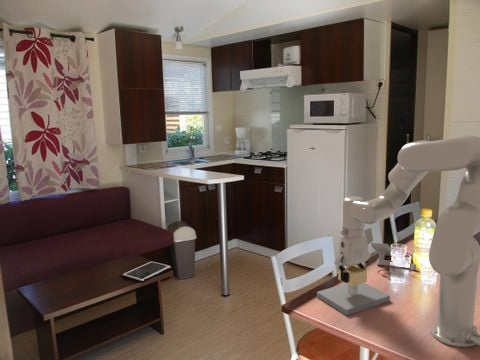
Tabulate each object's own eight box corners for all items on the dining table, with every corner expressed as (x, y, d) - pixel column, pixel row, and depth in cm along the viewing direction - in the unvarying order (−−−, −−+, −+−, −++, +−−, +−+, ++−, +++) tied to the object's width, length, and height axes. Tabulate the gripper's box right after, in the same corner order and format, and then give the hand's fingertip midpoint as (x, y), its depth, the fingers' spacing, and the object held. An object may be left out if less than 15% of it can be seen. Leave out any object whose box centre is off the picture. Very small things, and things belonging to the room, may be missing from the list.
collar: (366, 282, 148) (367, 270, 147) (351, 286, 145) (351, 274, 144) (353, 275, 154) (353, 263, 153) (338, 279, 151) (338, 267, 150)
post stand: (389, 300, 148) (390, 282, 147) (346, 315, 139) (346, 296, 138) (357, 284, 162) (358, 267, 161) (316, 297, 153) (316, 279, 152)
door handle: (378, 269, 191) (368, 261, 175) (379, 251, 193) (370, 242, 177) (419, 274, 182) (413, 266, 166) (420, 256, 184) (415, 247, 168)
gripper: (341, 239, 139) (340, 288, 142) (379, 230, 147) (378, 277, 150) (326, 233, 145) (326, 280, 149) (364, 225, 153) (363, 270, 156)
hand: (352, 278), depth 149 cm, fingers closed on collar, 7 cm apart
